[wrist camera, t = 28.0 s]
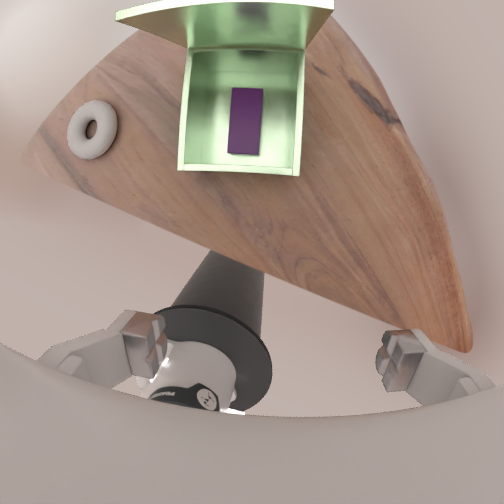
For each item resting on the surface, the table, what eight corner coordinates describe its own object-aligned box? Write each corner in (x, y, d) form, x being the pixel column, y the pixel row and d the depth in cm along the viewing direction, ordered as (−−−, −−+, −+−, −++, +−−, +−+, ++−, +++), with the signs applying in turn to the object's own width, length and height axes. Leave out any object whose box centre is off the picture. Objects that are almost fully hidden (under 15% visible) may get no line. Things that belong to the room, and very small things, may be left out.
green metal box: (292, 175, 38) (299, 176, 29) (196, 170, 38) (177, 170, 30) (298, 72, 33) (305, 48, 25) (204, 69, 34) (187, 47, 25)
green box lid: (334, 9, 11) (333, -44, 8) (114, 21, 11) (121, -30, 9) (305, 49, 24) (306, 16, 22) (186, 48, 25) (188, 15, 22)
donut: (71, 158, 38) (115, 161, 38) (59, 158, 35) (103, 161, 35) (81, 102, 35) (127, 101, 35) (69, 100, 32) (115, 96, 32)
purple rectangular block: (259, 156, 36) (258, 154, 33) (230, 154, 36) (226, 153, 34) (263, 94, 34) (263, 88, 31) (234, 93, 34) (231, 87, 31)
